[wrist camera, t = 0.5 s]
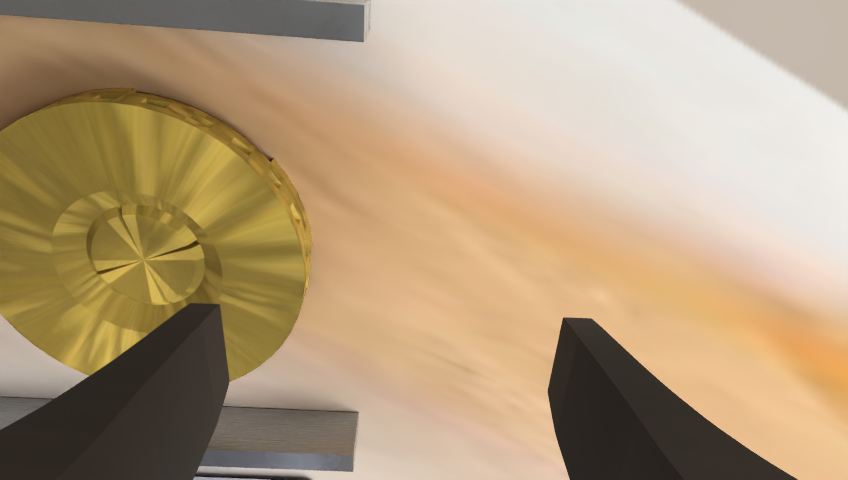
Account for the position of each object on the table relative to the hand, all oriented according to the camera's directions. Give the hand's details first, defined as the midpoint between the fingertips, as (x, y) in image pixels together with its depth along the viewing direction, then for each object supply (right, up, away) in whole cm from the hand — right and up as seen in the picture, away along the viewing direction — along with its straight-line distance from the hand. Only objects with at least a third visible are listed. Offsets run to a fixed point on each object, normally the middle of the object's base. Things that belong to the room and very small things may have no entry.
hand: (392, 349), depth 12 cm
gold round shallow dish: (-10, +2, +11) cm, 15 cm away
